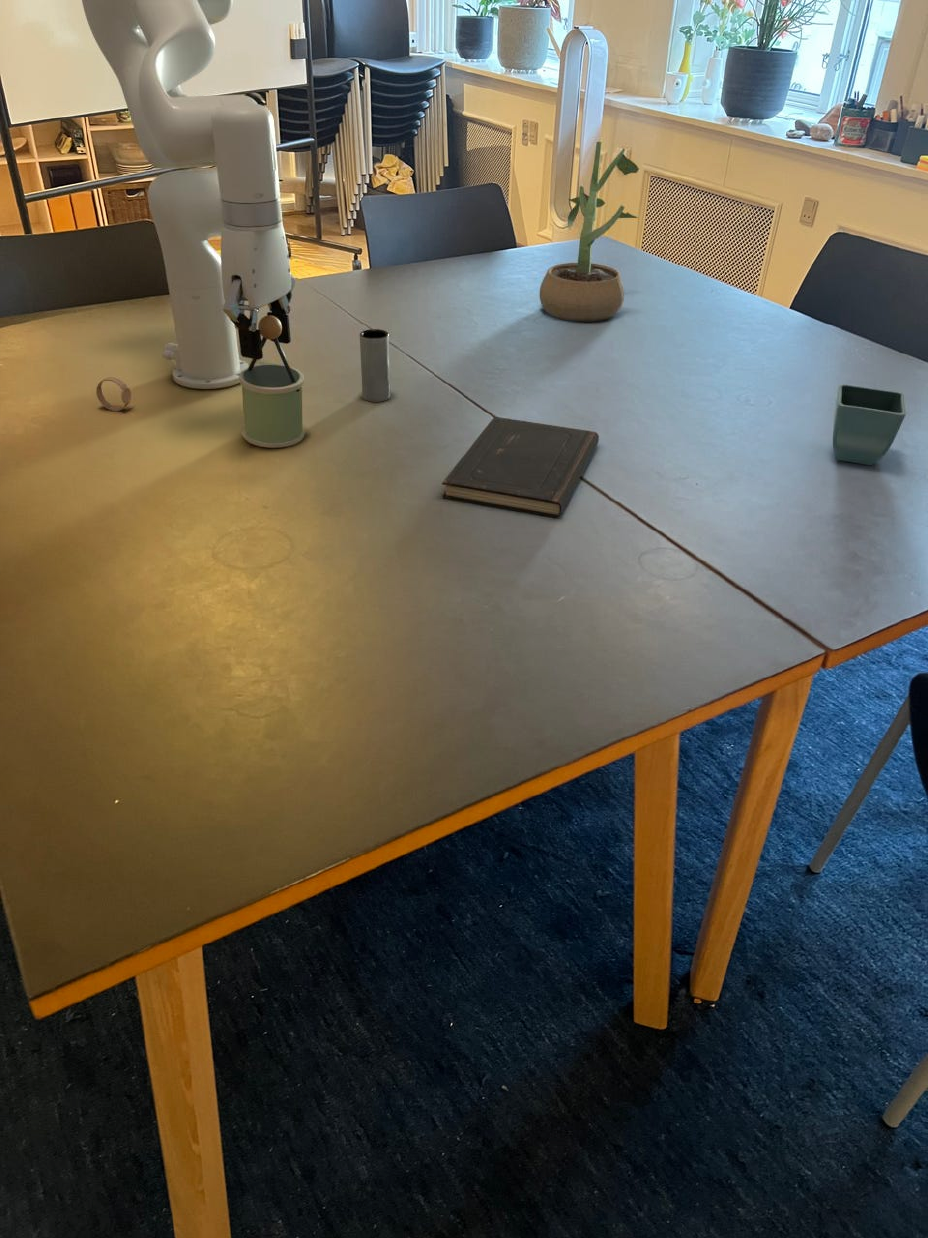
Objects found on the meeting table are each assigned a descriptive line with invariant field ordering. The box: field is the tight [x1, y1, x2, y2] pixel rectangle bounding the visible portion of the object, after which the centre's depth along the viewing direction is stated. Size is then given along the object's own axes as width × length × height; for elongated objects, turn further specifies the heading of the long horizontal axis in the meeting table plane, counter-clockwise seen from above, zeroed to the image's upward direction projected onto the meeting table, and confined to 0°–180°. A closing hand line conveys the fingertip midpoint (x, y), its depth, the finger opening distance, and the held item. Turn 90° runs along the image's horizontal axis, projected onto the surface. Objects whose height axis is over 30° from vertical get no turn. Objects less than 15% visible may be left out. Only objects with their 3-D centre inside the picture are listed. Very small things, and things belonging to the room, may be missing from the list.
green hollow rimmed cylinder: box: [239, 315, 306, 449], centre depth 134 cm, size 18×9×9 cm
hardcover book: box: [441, 416, 600, 518], centre depth 131 cm, size 16×23×2 cm
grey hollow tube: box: [359, 328, 392, 403], centre depth 150 cm, size 4×4×10 cm
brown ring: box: [95, 376, 132, 412], centre depth 146 cm, size 3×5×5 cm, turn 78°
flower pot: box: [832, 383, 907, 466], centre depth 135 cm, size 9×9×9 cm
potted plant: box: [539, 141, 640, 323], centre depth 185 cm, size 22×18×30 cm
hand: (266, 348), depth 132 cm, fingers open, 6 cm apart
